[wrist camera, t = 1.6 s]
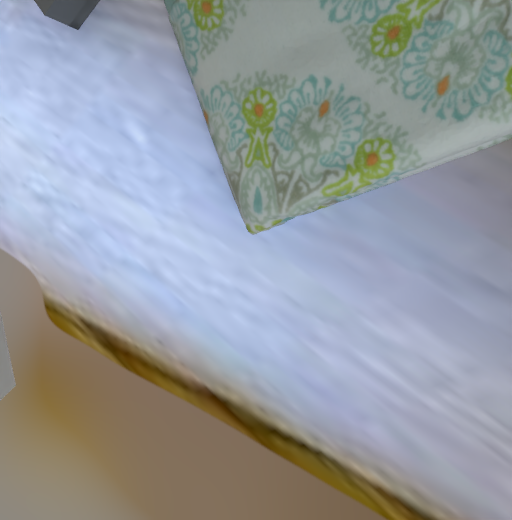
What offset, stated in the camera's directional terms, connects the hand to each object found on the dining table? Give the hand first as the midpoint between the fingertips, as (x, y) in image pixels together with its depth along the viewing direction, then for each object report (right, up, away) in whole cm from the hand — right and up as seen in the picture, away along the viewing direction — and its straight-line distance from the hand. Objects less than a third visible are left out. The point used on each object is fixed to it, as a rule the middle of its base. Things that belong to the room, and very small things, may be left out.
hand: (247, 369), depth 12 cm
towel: (+7, +16, +20) cm, 27 cm away
